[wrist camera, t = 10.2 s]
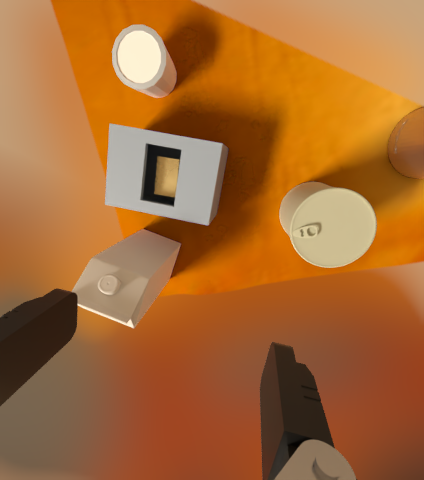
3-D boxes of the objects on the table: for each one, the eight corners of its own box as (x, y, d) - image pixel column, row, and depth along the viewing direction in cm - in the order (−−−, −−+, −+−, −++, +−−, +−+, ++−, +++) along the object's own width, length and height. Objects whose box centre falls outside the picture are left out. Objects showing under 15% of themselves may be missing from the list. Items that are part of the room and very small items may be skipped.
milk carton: (169, 279, 47) (118, 350, 29) (132, 264, 47) (58, 326, 29) (181, 243, 45) (134, 294, 26) (142, 228, 45) (69, 269, 27)
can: (276, 186, 40) (286, 194, 29) (341, 177, 38) (379, 181, 27) (282, 244, 42) (293, 273, 31) (343, 238, 41) (380, 265, 29)
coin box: (228, 148, 40) (222, 143, 31) (216, 213, 42) (208, 225, 34) (139, 132, 41) (109, 123, 32) (133, 197, 44) (104, 204, 35)
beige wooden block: (188, 160, 40) (179, 159, 35) (184, 193, 41) (175, 197, 36) (169, 157, 40) (157, 156, 35) (166, 190, 42) (154, 193, 36)
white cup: (151, 38, 37) (129, 9, 31) (190, 69, 38) (177, 48, 31) (126, 83, 39) (101, 65, 33) (163, 112, 40) (146, 101, 33)
